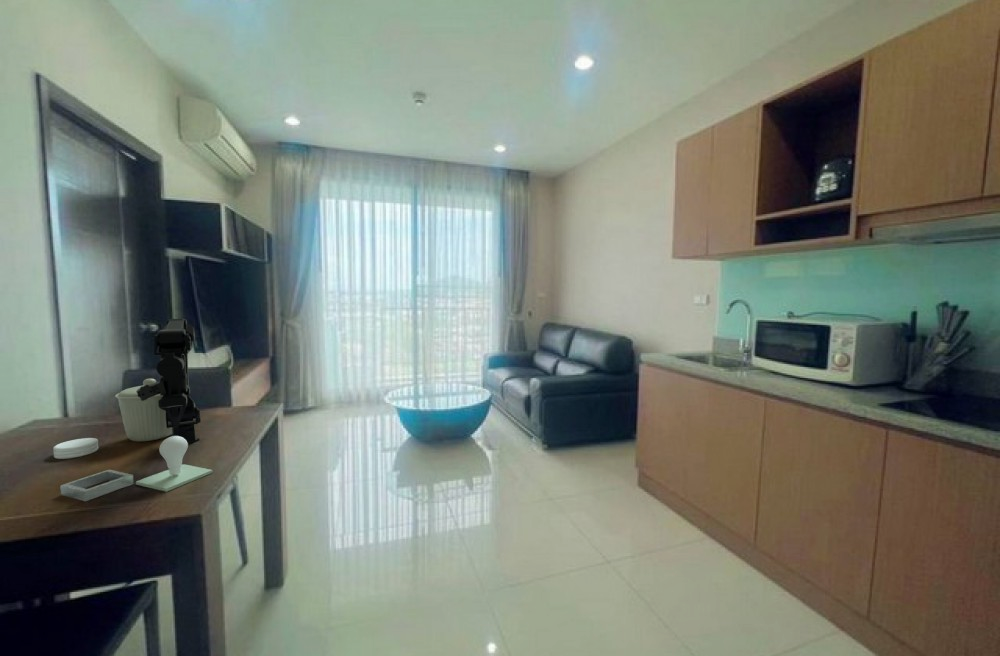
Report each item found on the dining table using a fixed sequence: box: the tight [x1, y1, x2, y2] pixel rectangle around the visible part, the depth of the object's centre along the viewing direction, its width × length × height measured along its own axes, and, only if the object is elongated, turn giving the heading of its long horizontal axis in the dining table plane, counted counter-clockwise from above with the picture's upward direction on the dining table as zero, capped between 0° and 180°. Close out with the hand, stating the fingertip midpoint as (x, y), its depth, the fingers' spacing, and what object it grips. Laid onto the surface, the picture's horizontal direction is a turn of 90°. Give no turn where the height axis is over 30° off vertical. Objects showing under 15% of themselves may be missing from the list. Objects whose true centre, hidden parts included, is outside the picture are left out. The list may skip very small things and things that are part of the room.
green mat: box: [135, 463, 214, 493], centre depth 112 cm, size 12×12×1 cm
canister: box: [114, 378, 172, 442], centre depth 144 cm, size 18×18×21 cm
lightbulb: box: [158, 435, 189, 476], centre depth 112 cm, size 6×6×11 cm
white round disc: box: [52, 437, 100, 460], centre depth 130 cm, size 10×10×4 cm
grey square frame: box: [59, 469, 134, 502], centre depth 106 cm, size 10×10×2 cm
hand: (176, 423), depth 122 cm, fingers open, 9 cm apart
